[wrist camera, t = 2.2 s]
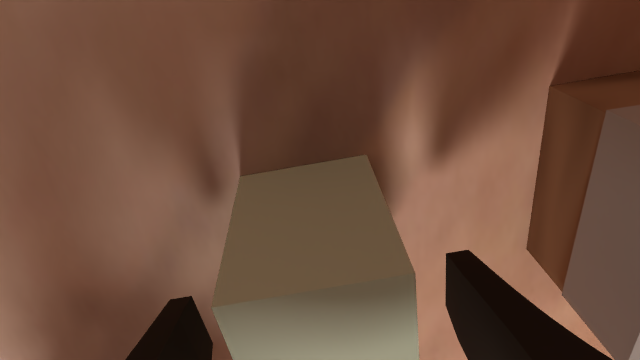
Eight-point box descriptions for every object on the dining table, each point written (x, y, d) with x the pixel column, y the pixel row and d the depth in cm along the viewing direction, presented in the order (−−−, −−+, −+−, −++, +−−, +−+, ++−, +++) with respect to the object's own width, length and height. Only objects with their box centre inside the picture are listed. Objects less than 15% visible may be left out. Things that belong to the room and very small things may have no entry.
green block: (268, 270, 16) (258, 421, 11) (240, 176, 14) (210, 307, 8) (376, 252, 16) (421, 394, 11) (366, 154, 14) (415, 272, 8)
